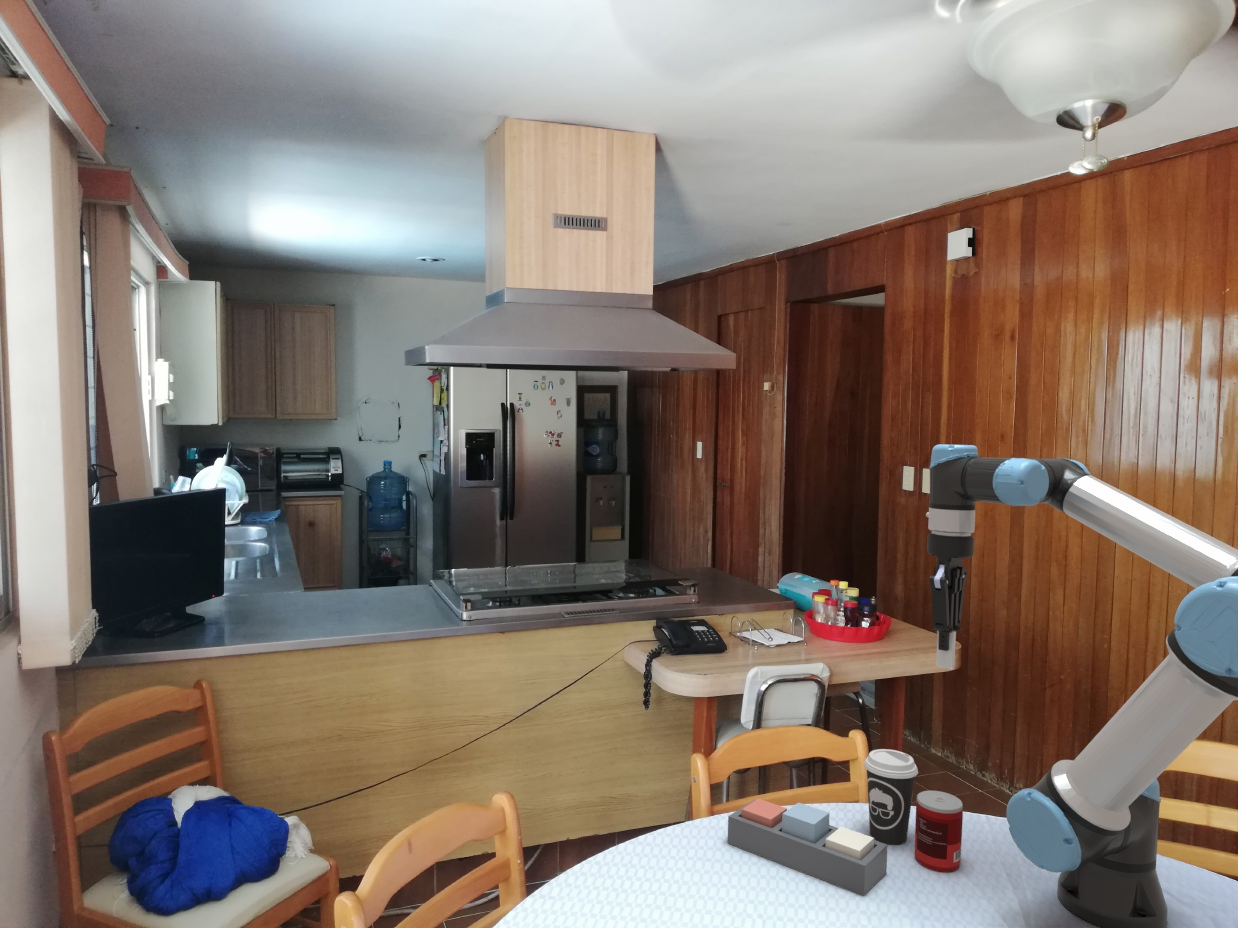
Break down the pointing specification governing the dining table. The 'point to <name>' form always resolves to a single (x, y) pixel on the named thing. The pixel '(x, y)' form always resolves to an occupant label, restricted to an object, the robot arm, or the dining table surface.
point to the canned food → (938, 830)
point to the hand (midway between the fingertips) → (945, 667)
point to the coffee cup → (890, 794)
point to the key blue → (805, 822)
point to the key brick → (763, 813)
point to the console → (809, 854)
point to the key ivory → (850, 843)
